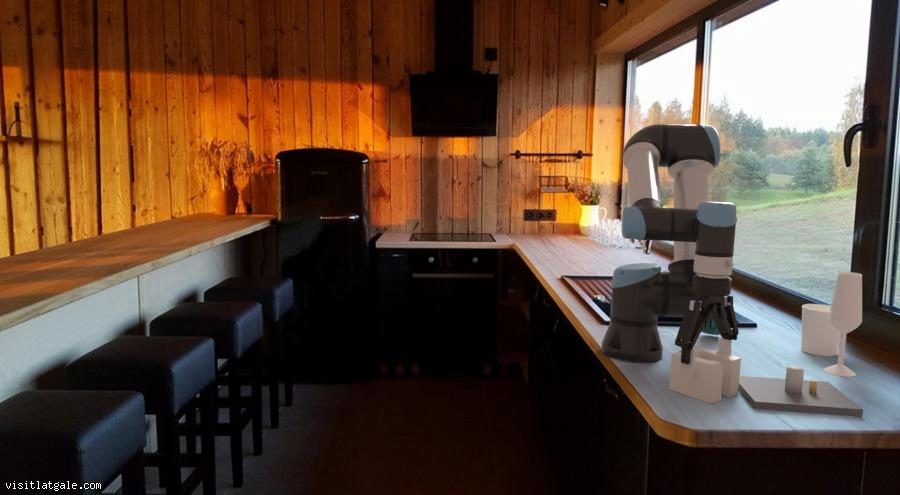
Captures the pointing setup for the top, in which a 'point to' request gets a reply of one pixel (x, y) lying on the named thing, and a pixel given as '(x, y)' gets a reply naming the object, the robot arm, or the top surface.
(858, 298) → the champagne flute
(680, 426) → the top surface
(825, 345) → the candle holder
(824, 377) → the top surface
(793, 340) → the top surface
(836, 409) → the base plate
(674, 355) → the beige notched hollow block
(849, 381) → the top surface
